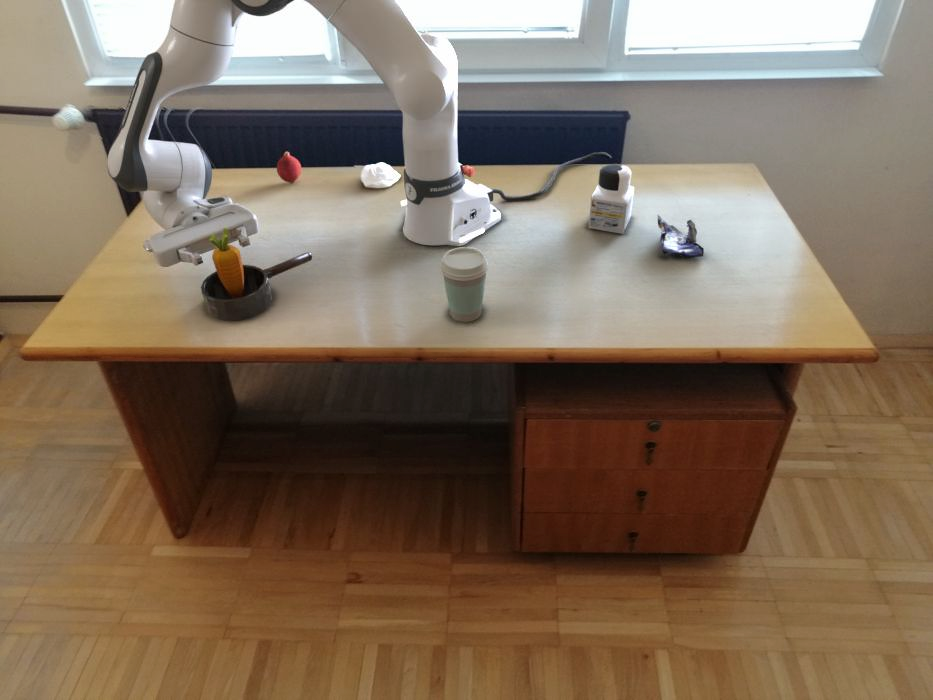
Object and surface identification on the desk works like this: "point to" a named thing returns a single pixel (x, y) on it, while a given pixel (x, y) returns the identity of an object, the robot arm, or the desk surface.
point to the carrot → (228, 265)
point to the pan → (233, 309)
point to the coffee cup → (464, 282)
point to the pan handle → (288, 265)
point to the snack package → (679, 240)
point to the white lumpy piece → (378, 175)
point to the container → (612, 199)
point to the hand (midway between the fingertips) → (222, 251)
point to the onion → (288, 168)
